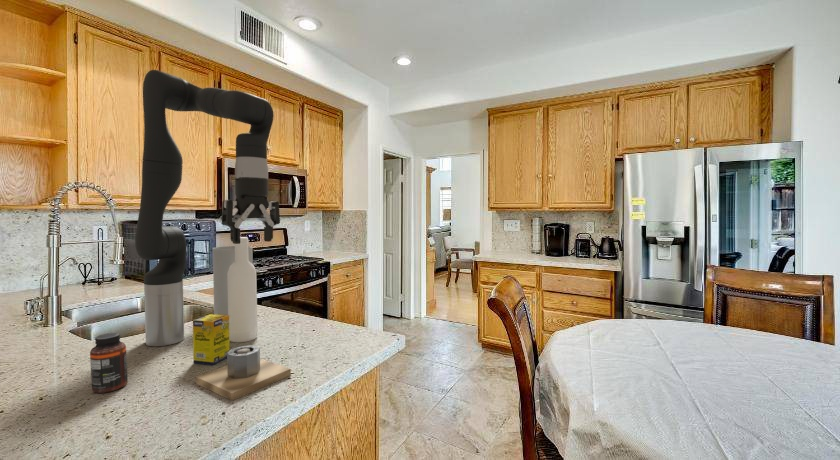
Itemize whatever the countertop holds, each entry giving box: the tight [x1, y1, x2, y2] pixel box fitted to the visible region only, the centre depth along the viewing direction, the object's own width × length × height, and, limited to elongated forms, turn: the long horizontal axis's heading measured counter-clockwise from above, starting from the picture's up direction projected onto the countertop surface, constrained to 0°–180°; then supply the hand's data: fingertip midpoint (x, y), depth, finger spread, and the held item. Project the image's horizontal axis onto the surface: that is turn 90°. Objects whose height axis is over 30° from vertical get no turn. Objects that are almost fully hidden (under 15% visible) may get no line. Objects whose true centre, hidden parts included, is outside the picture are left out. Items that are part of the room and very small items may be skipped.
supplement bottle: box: [89, 332, 129, 394], centre depth 80 cm, size 6×6×11 cm
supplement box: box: [192, 313, 231, 366], centre depth 95 cm, size 6×6×11 cm
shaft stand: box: [195, 348, 292, 401], centre depth 84 cm, size 14×14×6 cm
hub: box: [226, 344, 261, 379], centre depth 84 cm, size 6×6×5 cm
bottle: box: [227, 236, 259, 343], centre depth 111 cm, size 8×8×30 cm
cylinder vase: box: [212, 245, 254, 315], centre depth 133 cm, size 12×12×25 cm
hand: (252, 242), depth 94 cm, fingers open, 8 cm apart
